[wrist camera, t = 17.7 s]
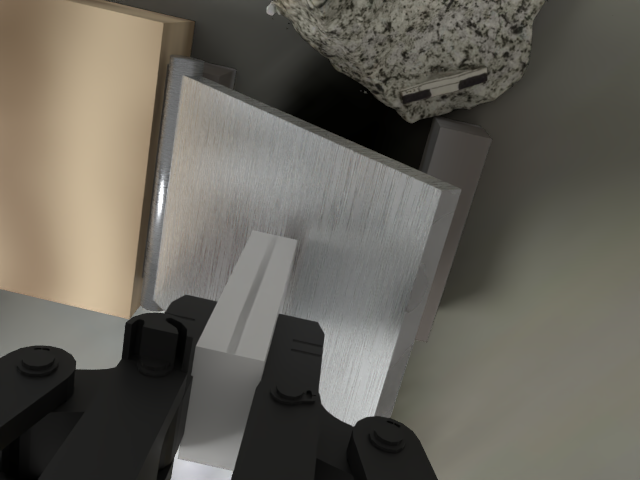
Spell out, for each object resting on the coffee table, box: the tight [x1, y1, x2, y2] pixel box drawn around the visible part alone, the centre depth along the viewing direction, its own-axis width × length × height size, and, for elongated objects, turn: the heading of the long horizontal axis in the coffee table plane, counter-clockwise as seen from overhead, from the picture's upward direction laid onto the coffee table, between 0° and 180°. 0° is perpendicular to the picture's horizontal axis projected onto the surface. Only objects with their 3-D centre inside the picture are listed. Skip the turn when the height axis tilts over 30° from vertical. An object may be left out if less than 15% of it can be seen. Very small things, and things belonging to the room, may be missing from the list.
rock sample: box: [266, 0, 548, 123], centre depth 22 cm, size 10×8×9 cm
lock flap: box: [140, 55, 461, 426], centre depth 20 cm, size 1×10×13 cm
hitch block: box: [0, 0, 492, 342], centre depth 25 cm, size 30×12×4 cm, turn 78°
